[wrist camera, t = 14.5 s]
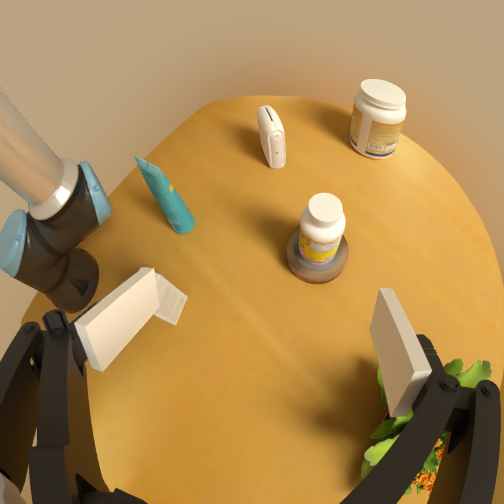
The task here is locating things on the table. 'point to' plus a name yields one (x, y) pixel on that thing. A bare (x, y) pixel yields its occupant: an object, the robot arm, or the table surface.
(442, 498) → the robot arm
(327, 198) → the supplement bottle
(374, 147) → the supplement tub
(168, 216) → the tube
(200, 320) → the table surface
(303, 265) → the walnut plinth
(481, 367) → the potted flower
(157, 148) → the table surface
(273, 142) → the photo printer
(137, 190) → the table surface
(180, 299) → the skincare box
